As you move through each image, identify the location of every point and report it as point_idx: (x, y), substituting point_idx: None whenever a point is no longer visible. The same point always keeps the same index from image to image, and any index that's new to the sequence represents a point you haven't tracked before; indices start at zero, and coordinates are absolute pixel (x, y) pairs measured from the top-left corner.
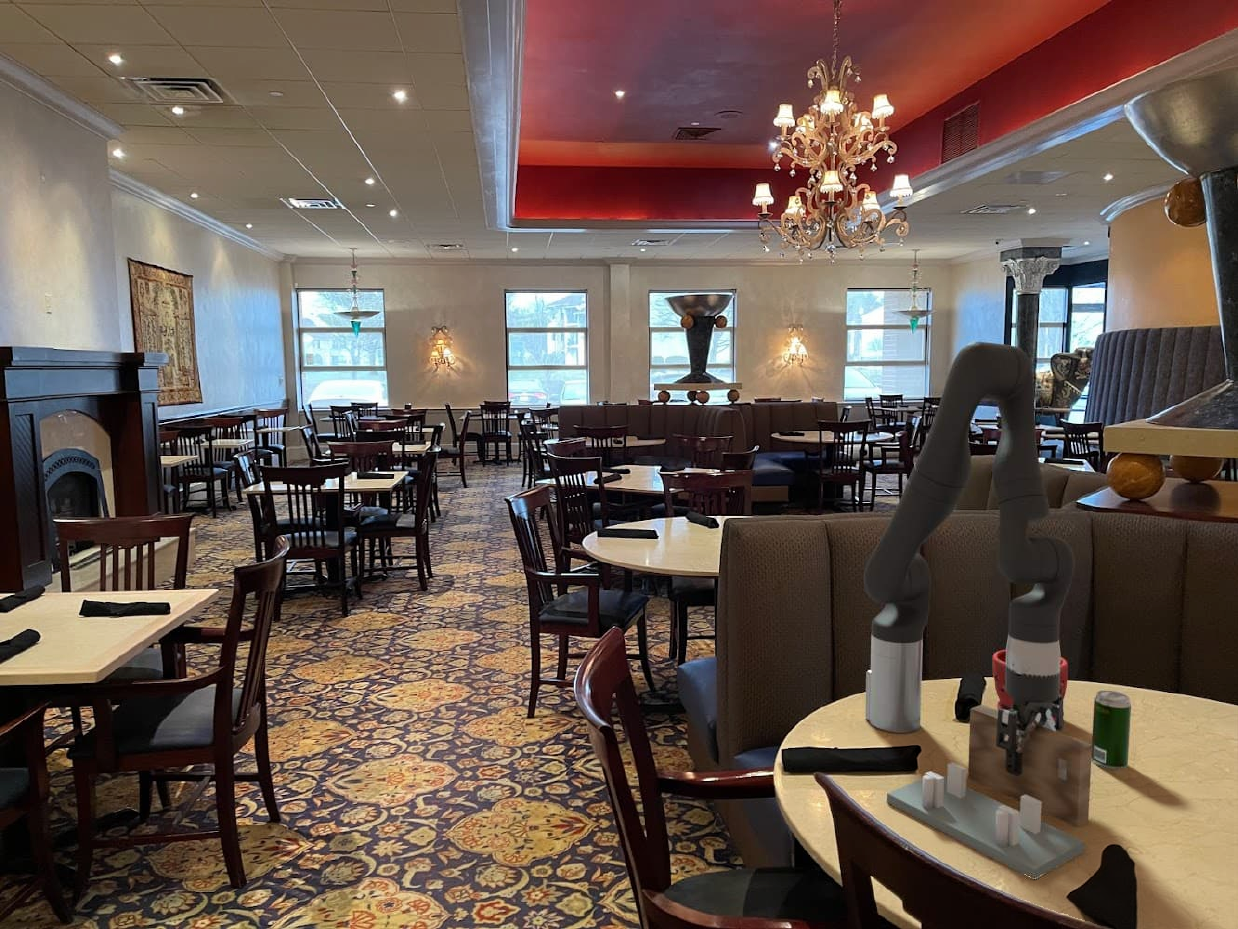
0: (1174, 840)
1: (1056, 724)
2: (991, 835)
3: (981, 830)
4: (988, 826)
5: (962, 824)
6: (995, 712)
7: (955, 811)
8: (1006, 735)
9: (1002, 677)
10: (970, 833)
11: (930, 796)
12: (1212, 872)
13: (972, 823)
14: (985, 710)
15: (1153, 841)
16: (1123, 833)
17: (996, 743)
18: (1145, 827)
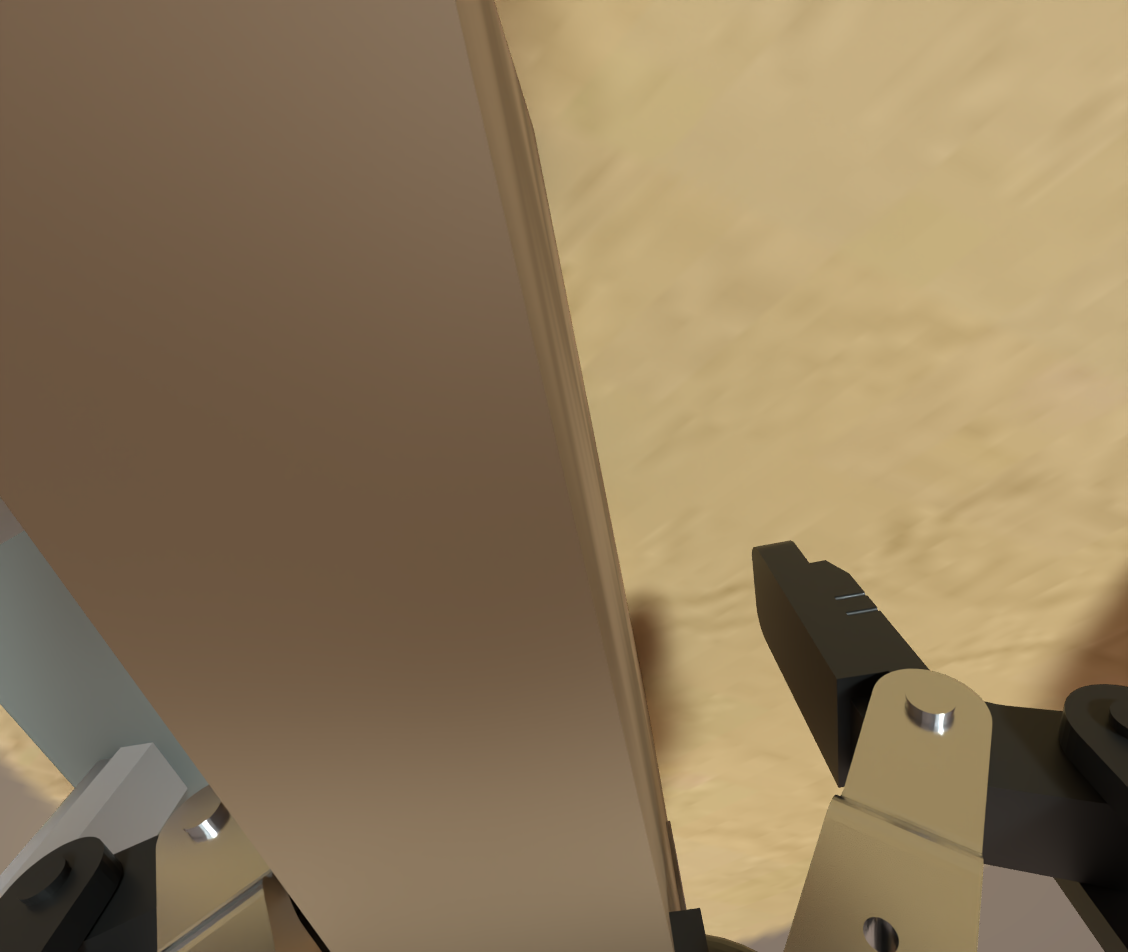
0: (796, 837)
1: (1091, 897)
2: (106, 732)
3: (79, 699)
4: (127, 689)
5: (7, 646)
6: (379, 511)
7: (18, 556)
8: (158, 926)
9: None
10: (17, 699)
11: None
12: (712, 930)
13: (63, 652)
14: (141, 281)
15: (728, 824)
16: (687, 775)
17: (3, 900)
18: (798, 775)
